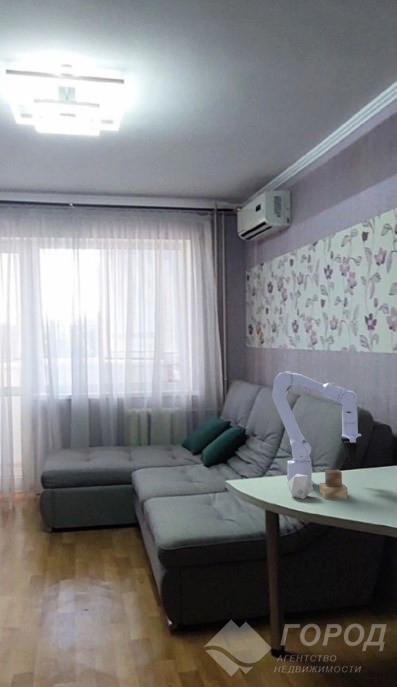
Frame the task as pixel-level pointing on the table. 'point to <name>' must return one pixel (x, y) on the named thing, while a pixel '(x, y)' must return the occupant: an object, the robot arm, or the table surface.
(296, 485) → the white faceted polyhedron
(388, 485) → the table surface
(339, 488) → the oak block
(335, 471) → the walnut cube
